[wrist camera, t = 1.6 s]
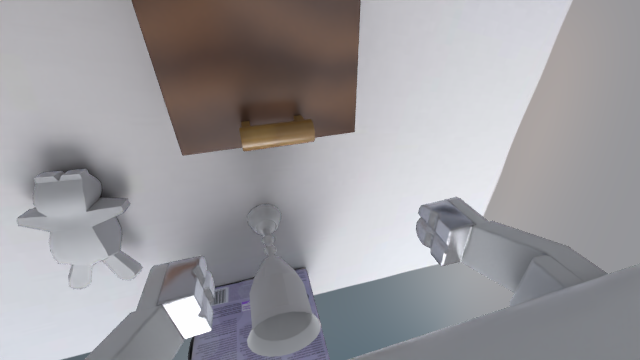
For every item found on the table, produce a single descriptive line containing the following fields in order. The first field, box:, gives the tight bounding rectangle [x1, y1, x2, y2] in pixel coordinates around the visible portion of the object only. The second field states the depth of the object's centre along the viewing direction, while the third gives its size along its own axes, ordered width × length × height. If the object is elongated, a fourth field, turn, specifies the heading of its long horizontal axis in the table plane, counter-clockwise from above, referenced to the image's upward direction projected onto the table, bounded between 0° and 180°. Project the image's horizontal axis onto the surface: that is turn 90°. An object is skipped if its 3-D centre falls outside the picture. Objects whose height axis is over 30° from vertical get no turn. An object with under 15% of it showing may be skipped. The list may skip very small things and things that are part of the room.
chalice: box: [247, 204, 321, 357], centre depth 33 cm, size 7×7×18 cm
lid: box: [132, 0, 360, 156], centre depth 19 cm, size 13×16×5 cm
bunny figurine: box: [17, 169, 143, 289], centre depth 31 cm, size 10×5×15 cm
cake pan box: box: [188, 268, 330, 360], centre depth 39 cm, size 19×5×18 cm, turn 90°
